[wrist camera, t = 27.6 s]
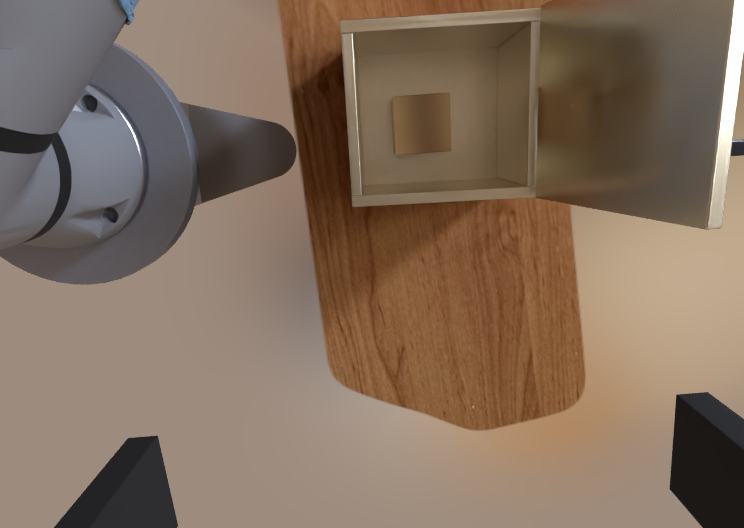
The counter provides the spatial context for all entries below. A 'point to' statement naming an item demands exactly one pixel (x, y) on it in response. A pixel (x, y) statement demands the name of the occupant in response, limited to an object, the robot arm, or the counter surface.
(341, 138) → the counter surface
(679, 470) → the robot arm
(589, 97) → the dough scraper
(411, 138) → the block
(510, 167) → the open box
